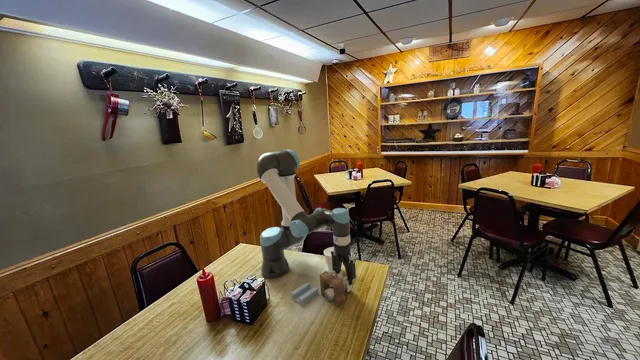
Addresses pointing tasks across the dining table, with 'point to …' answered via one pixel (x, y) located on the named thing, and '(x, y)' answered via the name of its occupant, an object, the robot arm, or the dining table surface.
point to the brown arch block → (336, 282)
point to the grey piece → (330, 291)
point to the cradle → (304, 294)
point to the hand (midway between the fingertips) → (344, 287)
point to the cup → (329, 258)
